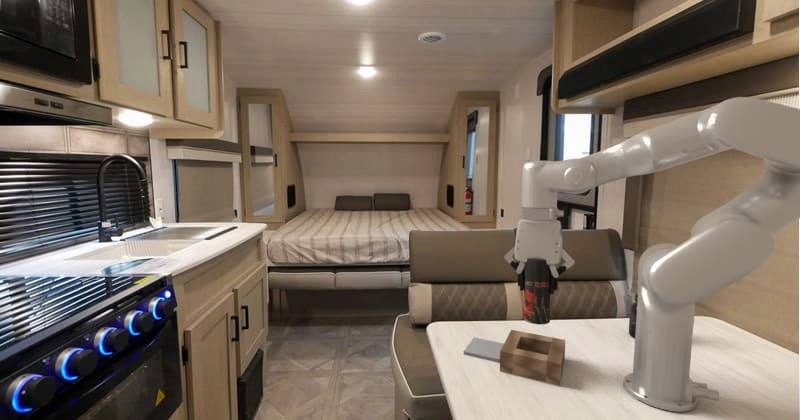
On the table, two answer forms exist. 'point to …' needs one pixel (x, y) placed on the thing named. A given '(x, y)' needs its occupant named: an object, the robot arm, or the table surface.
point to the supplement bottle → (633, 317)
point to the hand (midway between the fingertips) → (537, 290)
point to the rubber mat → (484, 349)
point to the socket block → (533, 357)
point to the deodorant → (537, 291)
